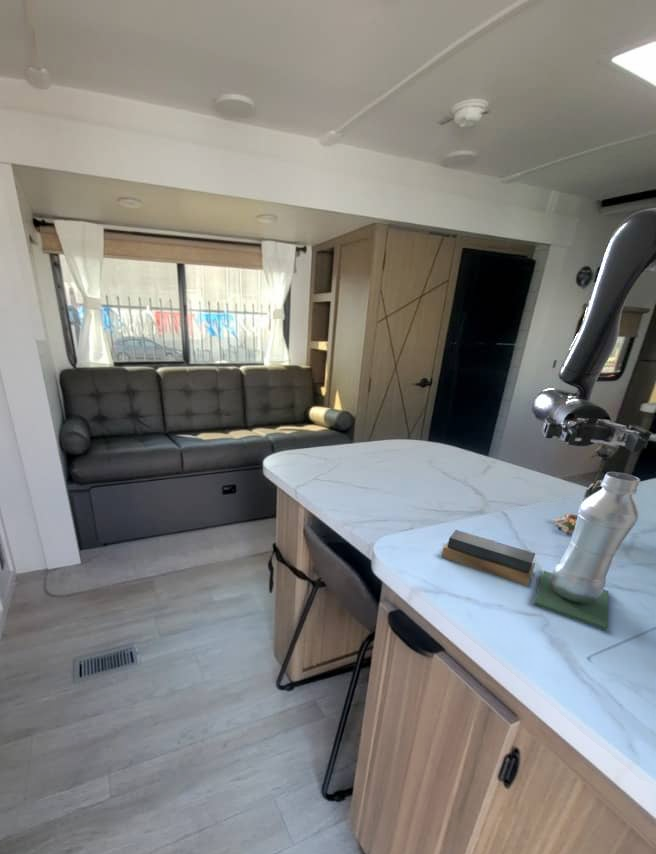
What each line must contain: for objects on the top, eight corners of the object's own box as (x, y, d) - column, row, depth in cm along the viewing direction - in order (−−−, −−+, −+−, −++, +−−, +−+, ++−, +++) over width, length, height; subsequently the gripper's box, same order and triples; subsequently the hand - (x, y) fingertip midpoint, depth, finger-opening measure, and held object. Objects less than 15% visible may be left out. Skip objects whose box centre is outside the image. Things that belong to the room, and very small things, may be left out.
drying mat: (606, 593, 65) (608, 590, 65) (605, 630, 57) (607, 627, 57) (542, 573, 70) (543, 570, 70) (533, 604, 62) (534, 601, 62)
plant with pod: (619, 545, 80) (665, 447, 71) (553, 533, 84) (589, 438, 75) (607, 527, 87) (647, 436, 78) (546, 517, 90) (578, 428, 82)
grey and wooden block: (532, 572, 70) (539, 553, 69) (527, 586, 67) (535, 565, 65) (449, 546, 78) (453, 527, 76) (441, 556, 74) (445, 537, 72)
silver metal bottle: (550, 578, 68) (595, 464, 59) (599, 595, 64) (656, 477, 55) (541, 595, 64) (589, 475, 55) (594, 615, 59) (654, 489, 51)
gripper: (541, 398, 78) (559, 413, 64) (632, 404, 73) (673, 423, 59) (530, 436, 81) (545, 459, 67) (616, 445, 76) (651, 471, 62)
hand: (605, 442), depth 63 cm, fingers open, 8 cm apart
